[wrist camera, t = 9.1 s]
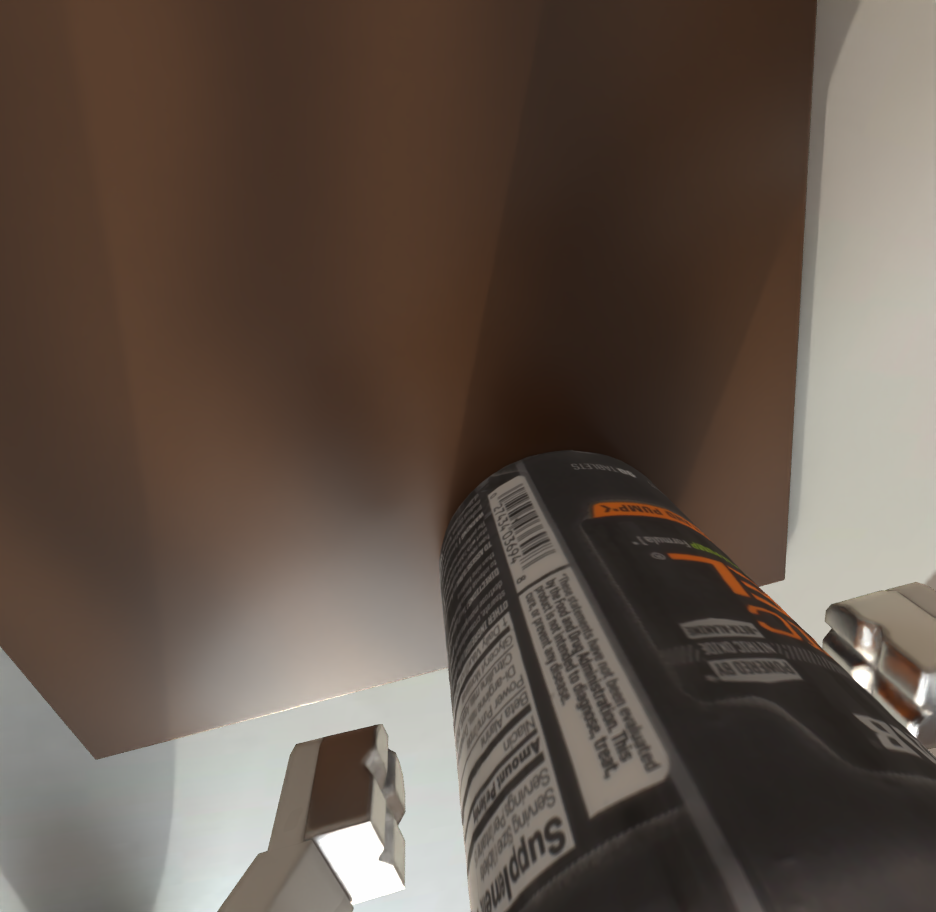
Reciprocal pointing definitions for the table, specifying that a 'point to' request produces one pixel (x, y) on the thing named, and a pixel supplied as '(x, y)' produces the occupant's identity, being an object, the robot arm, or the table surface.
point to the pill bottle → (658, 718)
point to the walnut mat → (368, 317)
